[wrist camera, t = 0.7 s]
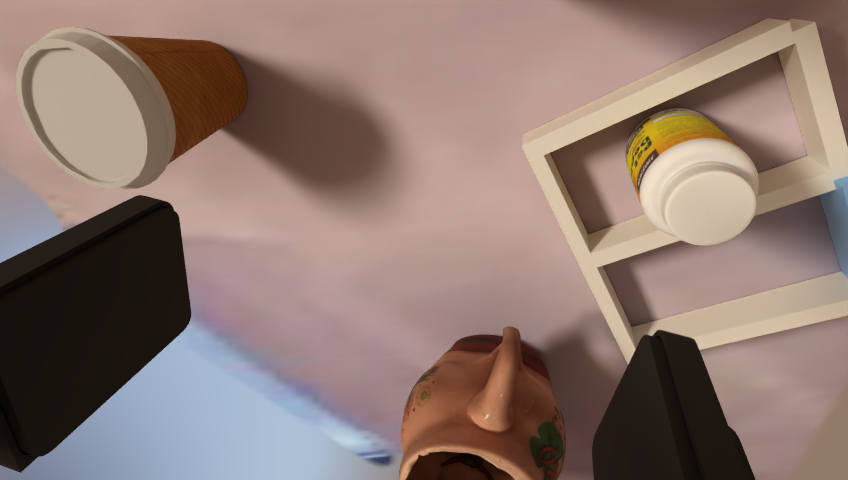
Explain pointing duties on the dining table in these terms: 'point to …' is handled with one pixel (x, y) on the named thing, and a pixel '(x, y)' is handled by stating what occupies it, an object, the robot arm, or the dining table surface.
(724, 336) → the white divided tray
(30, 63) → the disposable coffee cup
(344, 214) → the dining table surface
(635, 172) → the supplement bottle
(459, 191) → the dining table surface
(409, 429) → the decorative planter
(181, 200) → the dining table surface
